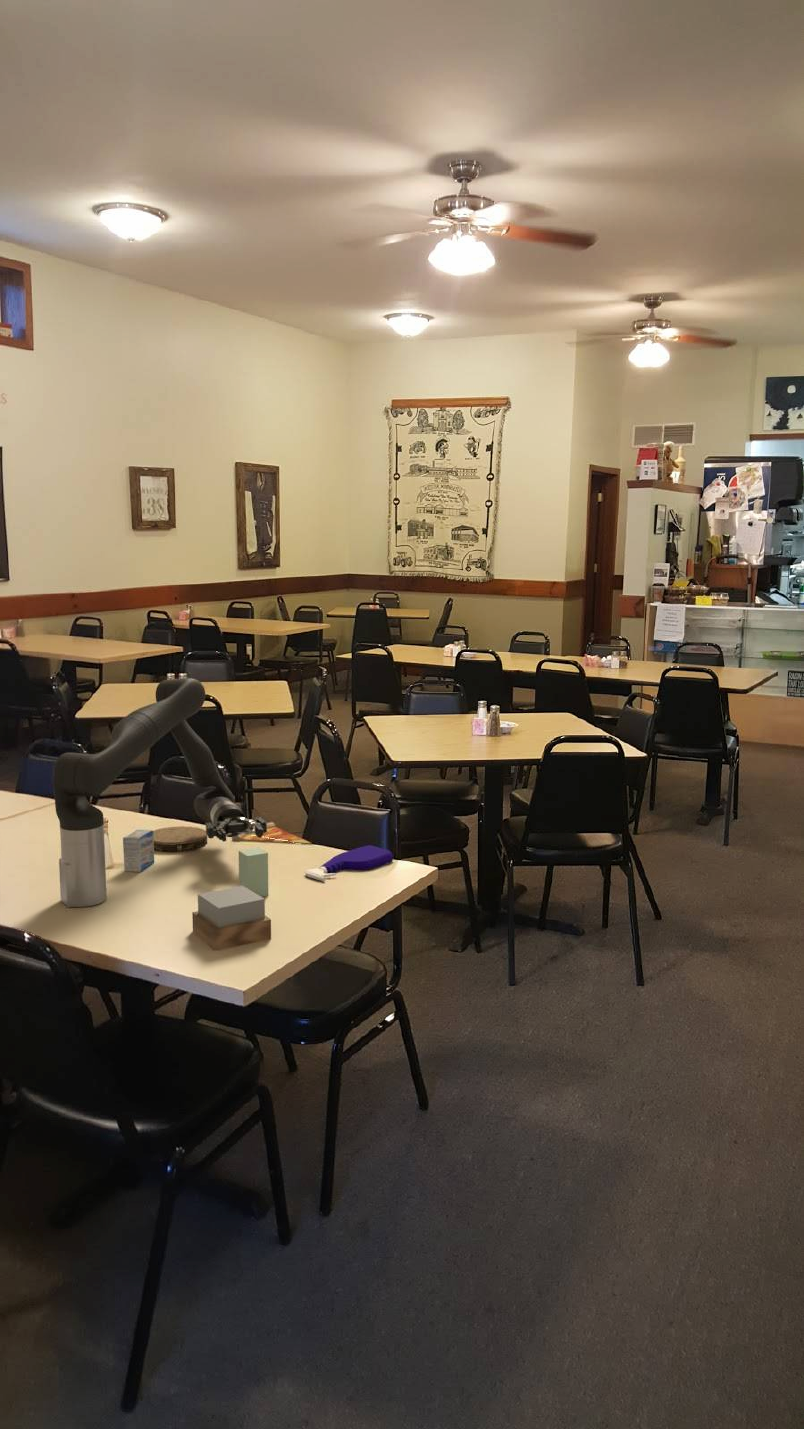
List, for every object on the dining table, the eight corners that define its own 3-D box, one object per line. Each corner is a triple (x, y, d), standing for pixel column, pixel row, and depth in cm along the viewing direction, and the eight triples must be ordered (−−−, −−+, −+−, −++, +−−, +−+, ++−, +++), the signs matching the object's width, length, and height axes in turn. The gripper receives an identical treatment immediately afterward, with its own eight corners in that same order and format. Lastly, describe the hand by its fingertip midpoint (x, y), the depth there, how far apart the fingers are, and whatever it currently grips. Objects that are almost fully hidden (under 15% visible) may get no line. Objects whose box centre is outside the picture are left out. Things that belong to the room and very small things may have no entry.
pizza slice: (259, 855, 261) (259, 848, 260) (221, 836, 278) (221, 829, 278) (311, 846, 270) (311, 838, 269) (271, 828, 287) (271, 821, 287)
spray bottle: (366, 843, 262) (295, 865, 244) (397, 852, 255) (326, 875, 237) (366, 854, 262) (295, 877, 245) (397, 863, 255) (326, 887, 237)
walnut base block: (214, 952, 196) (214, 930, 196) (192, 933, 207) (192, 912, 206) (271, 940, 203) (270, 919, 202) (247, 922, 213) (246, 902, 212)
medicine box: (140, 872, 245) (139, 838, 243) (123, 871, 245) (122, 837, 244) (154, 863, 252) (153, 829, 251) (138, 862, 253) (137, 828, 252)
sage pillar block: (248, 899, 226) (247, 856, 225) (239, 892, 230) (238, 850, 229) (268, 895, 229) (267, 852, 227) (259, 889, 233) (258, 847, 231)
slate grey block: (219, 927, 197) (218, 908, 197) (198, 912, 205) (197, 894, 205) (264, 917, 203) (264, 898, 202) (242, 903, 211) (242, 885, 210)
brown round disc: (142, 840, 273) (142, 829, 273) (200, 834, 280) (200, 824, 279) (151, 856, 259) (151, 845, 259) (213, 850, 265) (213, 838, 265)
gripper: (198, 806, 250) (212, 823, 235) (255, 801, 255) (271, 817, 240) (200, 835, 251) (213, 854, 236) (256, 829, 257) (272, 847, 242)
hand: (242, 835), depth 238 cm, fingers open, 8 cm apart
